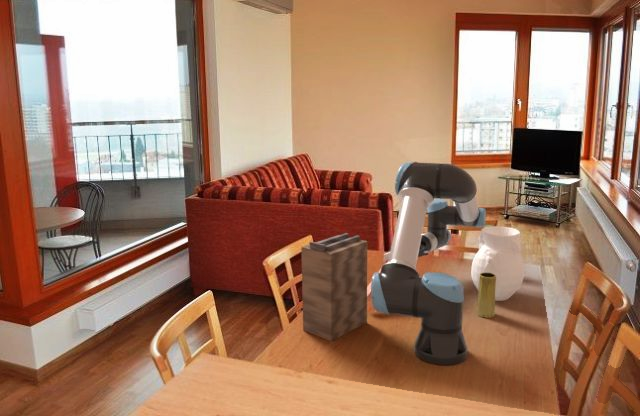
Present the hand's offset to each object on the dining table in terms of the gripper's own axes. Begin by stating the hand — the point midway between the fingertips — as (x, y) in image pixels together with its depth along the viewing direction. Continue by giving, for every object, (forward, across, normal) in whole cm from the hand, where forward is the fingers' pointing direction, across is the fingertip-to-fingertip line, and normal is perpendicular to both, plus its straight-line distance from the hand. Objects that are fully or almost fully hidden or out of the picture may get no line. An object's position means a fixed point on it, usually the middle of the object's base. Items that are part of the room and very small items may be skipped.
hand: (388, 258), depth 202 cm
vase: (-11, -33, -16) cm, 38 cm away
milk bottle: (-50, -14, -16) cm, 55 cm away
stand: (+29, 0, -16) cm, 33 cm away
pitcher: (-29, -28, -16) cm, 44 cm away
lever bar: (+1, 0, -6) cm, 6 cm away
